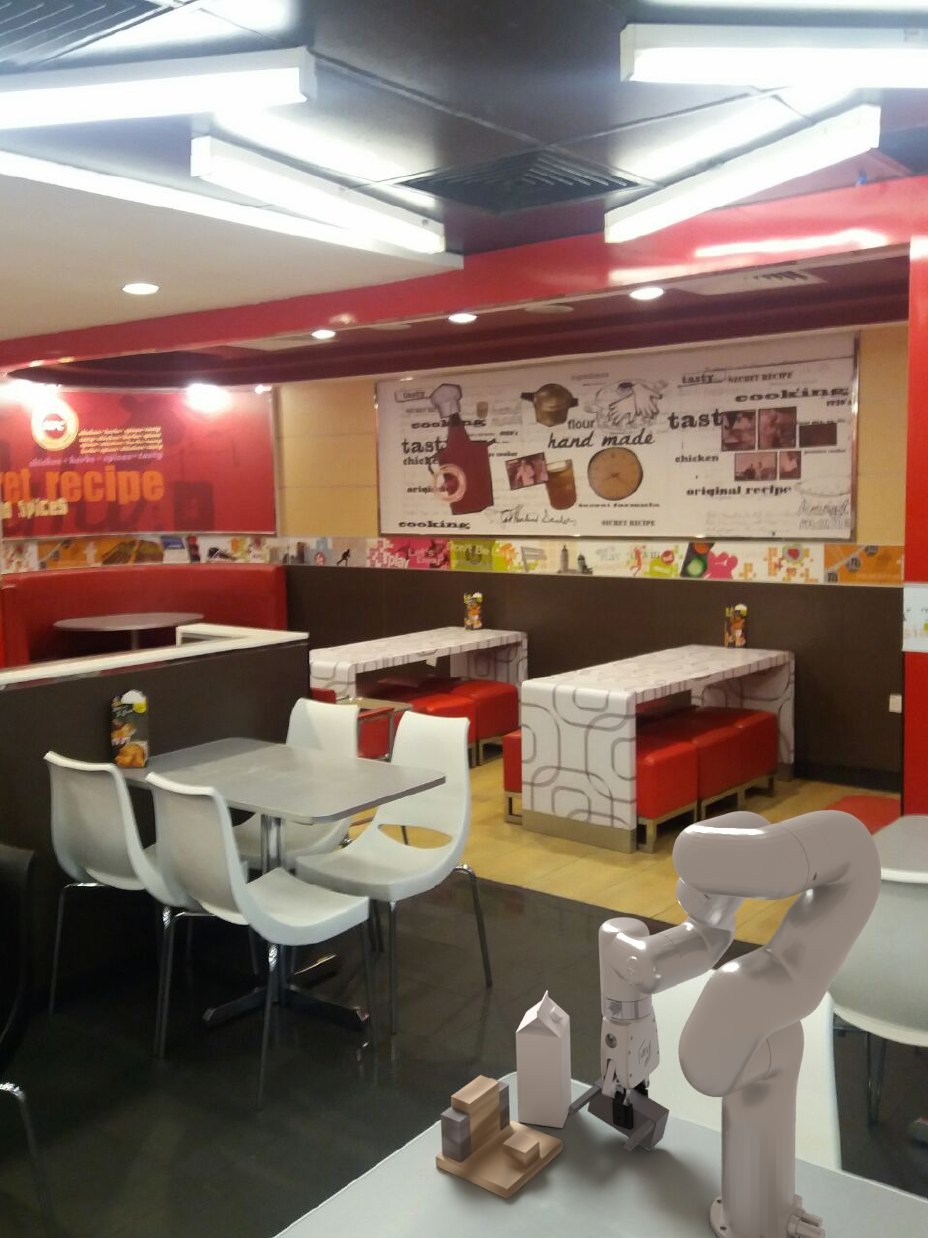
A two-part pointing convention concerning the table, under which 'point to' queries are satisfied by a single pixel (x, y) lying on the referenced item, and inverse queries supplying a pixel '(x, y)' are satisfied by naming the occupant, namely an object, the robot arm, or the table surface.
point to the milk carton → (544, 1065)
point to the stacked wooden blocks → (491, 1140)
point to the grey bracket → (645, 1115)
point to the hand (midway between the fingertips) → (631, 1118)
